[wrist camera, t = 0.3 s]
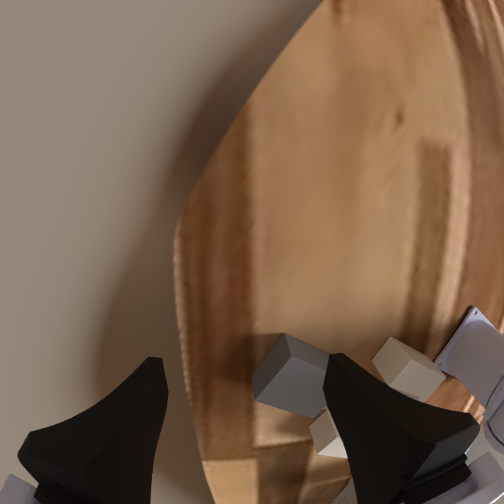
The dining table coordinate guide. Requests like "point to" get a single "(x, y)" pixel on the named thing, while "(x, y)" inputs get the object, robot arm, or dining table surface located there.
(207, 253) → the dining table surface
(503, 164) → the dining table surface
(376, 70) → the dining table surface
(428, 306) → the dining table surface
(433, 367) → the socket block
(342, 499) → the light switch
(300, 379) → the plug
